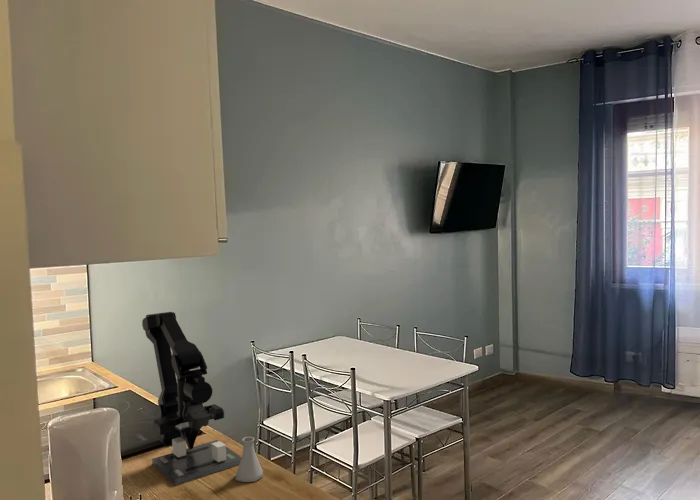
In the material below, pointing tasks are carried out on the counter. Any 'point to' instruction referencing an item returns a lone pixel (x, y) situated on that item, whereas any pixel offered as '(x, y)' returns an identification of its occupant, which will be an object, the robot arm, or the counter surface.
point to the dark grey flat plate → (194, 463)
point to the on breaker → (218, 451)
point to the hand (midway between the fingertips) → (190, 448)
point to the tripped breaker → (179, 447)
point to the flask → (249, 463)
